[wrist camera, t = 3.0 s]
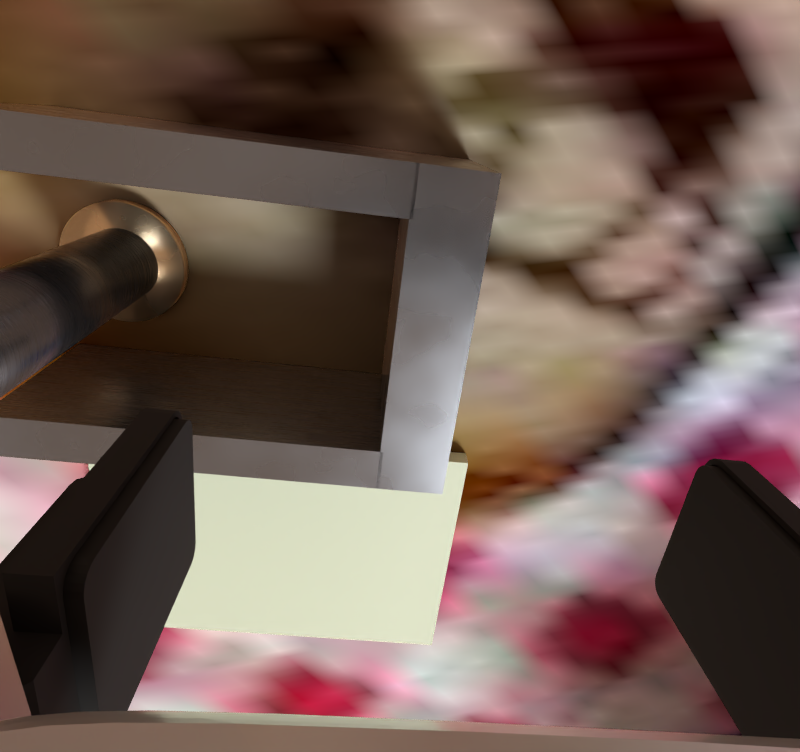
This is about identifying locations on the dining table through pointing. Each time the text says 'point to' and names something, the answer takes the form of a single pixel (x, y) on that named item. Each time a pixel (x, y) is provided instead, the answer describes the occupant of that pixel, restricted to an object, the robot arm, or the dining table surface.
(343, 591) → the board
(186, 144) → the c link
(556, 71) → the dining table surface
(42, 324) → the stand
